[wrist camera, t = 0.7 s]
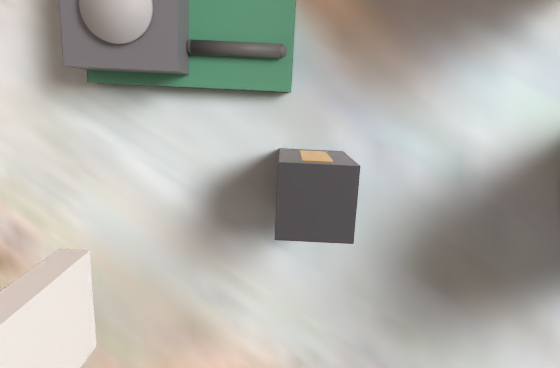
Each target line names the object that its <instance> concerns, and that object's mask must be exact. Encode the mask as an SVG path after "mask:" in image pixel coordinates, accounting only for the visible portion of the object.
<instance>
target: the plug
mask: <svg viewBox="0 0 560 368" xmlns="http://www.w3.org/2000/svg"><path fill="white" fill-rule="evenodd" d="M359 174H360V165H358V164H357V163H356V162H355V161H354V160H352V159H351V158H350V157H349V156H348V155H347V154H345V153H344V152H343V151H326V150H305V149H284V148H280V153H279V161H278V179H277V201H276V222H275V240H286V241H306V242H326V243H347V244H353V242H354V231H355V219H356V208H357V197H358V185H359Z"/></svg>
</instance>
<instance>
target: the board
mask: <svg viewBox="0 0 560 368" xmlns="http://www.w3.org/2000/svg"><path fill="white" fill-rule="evenodd" d="M59 2H60V19H61V35H62V52H63V66H68V67H74V68H80V69H86V70H87V82H92V83H107V84H128V85H149V86H170V87H191V88H212V89H233V90H254V91H275V92H291V82H292V63H293V43H294V23H295V4H296V0H59Z"/></svg>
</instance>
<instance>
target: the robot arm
mask: <svg viewBox="0 0 560 368" xmlns="http://www.w3.org/2000/svg"><path fill="white" fill-rule="evenodd" d="M96 346H97V344H96V330H95V317H94V304H93V290H92V277H91V264H90V251H87V250H67V249H59V250H57V251H56V252H55V253H53V254H52V255H50V256H49V257H48V258H46V259H45V260H43V261H42V262H41V263H39V264H38V265H37V266H35V267H34V268H32V269H31V270H30V271H28V272H27V273H25V274H24V275H23V276H21V277H20V278H18V279H17V280H16V281H14V282H13V283H11V284H10V285H9V286H7V287H6V288H4V289H3V290H2V291H0V368H81V366H82V365H83V364H84V362H85V361H86V360H87V358H88V357H89V355H90V354H91V353H92V351H93V350H94V349H95V347H96Z"/></svg>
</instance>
